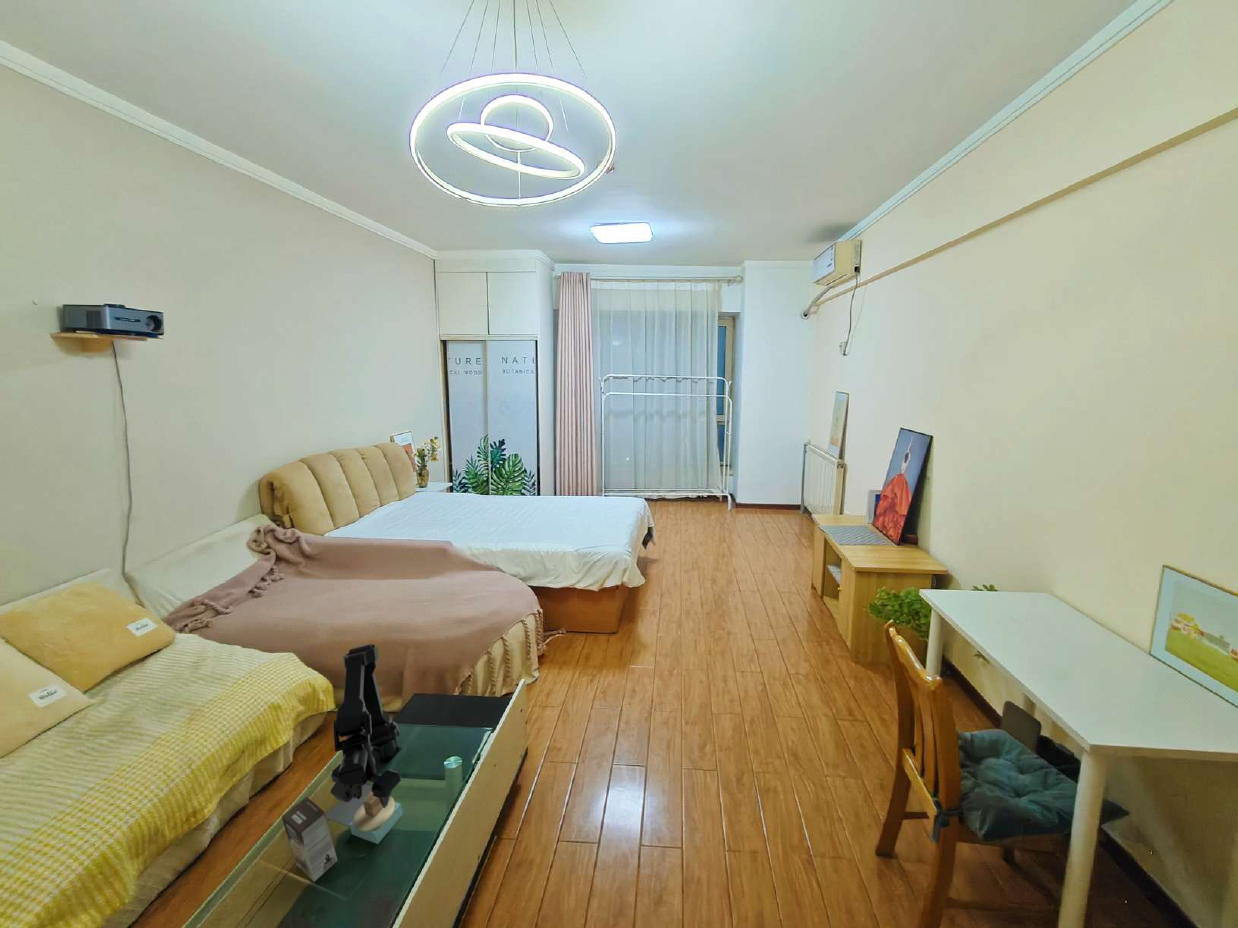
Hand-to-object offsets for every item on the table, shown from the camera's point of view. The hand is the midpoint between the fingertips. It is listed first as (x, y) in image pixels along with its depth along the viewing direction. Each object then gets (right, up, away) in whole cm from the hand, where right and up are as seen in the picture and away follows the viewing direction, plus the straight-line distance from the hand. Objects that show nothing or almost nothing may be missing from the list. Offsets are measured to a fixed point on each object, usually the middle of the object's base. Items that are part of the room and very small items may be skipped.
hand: (372, 802), depth 137 cm
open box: (+1, -8, +2) cm, 8 cm away
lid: (0, -4, +1) cm, 4 cm away
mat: (-9, -7, +9) cm, 15 cm away
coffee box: (-10, -11, -7) cm, 17 cm away
